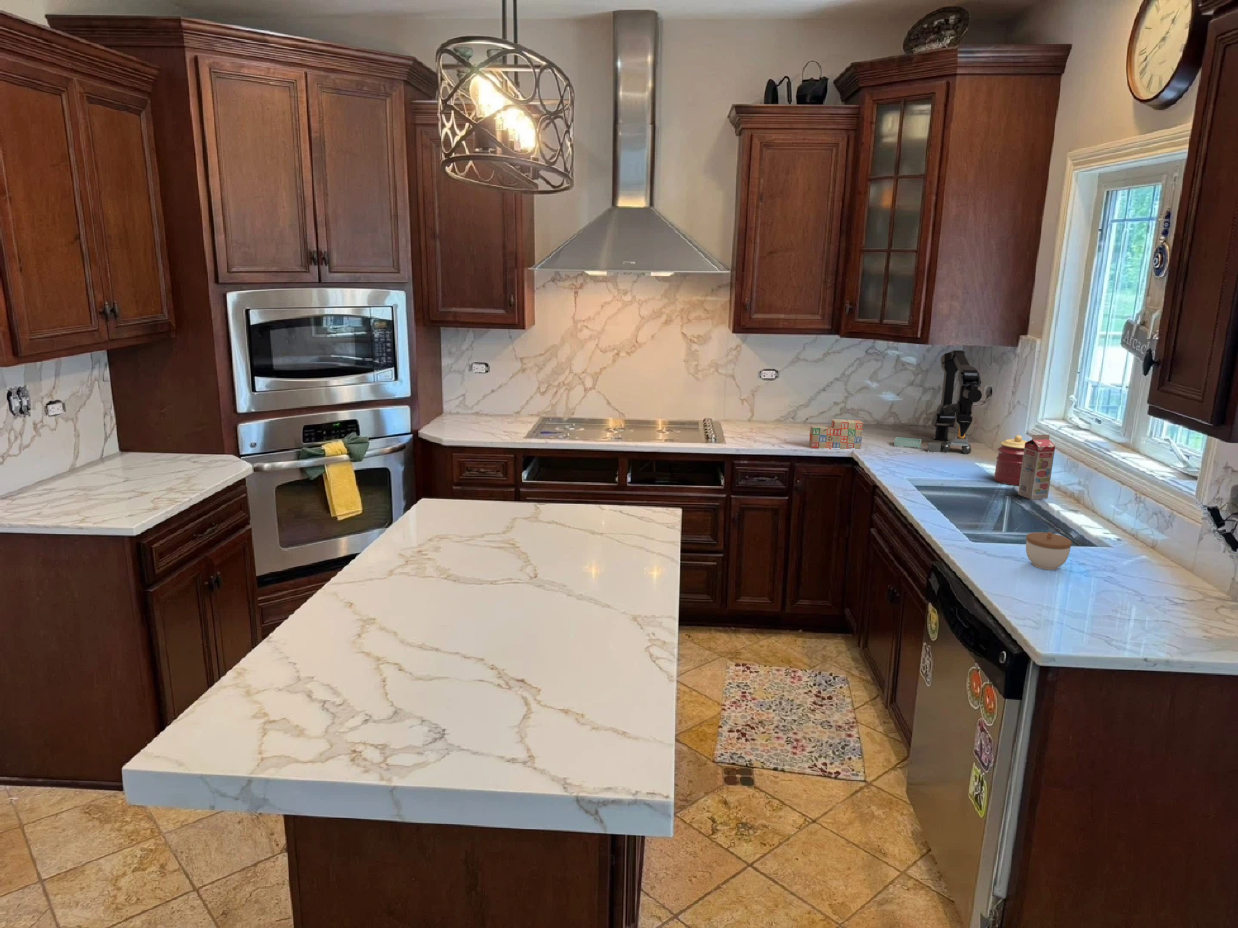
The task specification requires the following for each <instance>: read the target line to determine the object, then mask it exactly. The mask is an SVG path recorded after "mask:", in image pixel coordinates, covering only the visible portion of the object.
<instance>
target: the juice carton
mask: <svg viewBox="0 0 1238 928" xmlns="http://www.w3.org/2000/svg"><path fill="white" fill-rule="evenodd" d="M1031 437H1032V439H1030V440H1026V441H1027V442H1026V443H1025V447H1024V454H1023V462H1022V469H1021V476H1020V483H1019V485H1018V486H1019V487H1018V492H1017V493H1018V494H1017V495H1019V496H1021V497H1024V498H1026V499H1030V500H1042V499H1041V498H1049V492H1050V483H1051V478H1052V477H1051V476H1052V472H1053V464H1054V458H1055V452H1056V451H1055V450H1056V445H1055V444H1054V443H1053V442H1052V440H1050V434H1033V435H1032V436H1031Z"/></svg>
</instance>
